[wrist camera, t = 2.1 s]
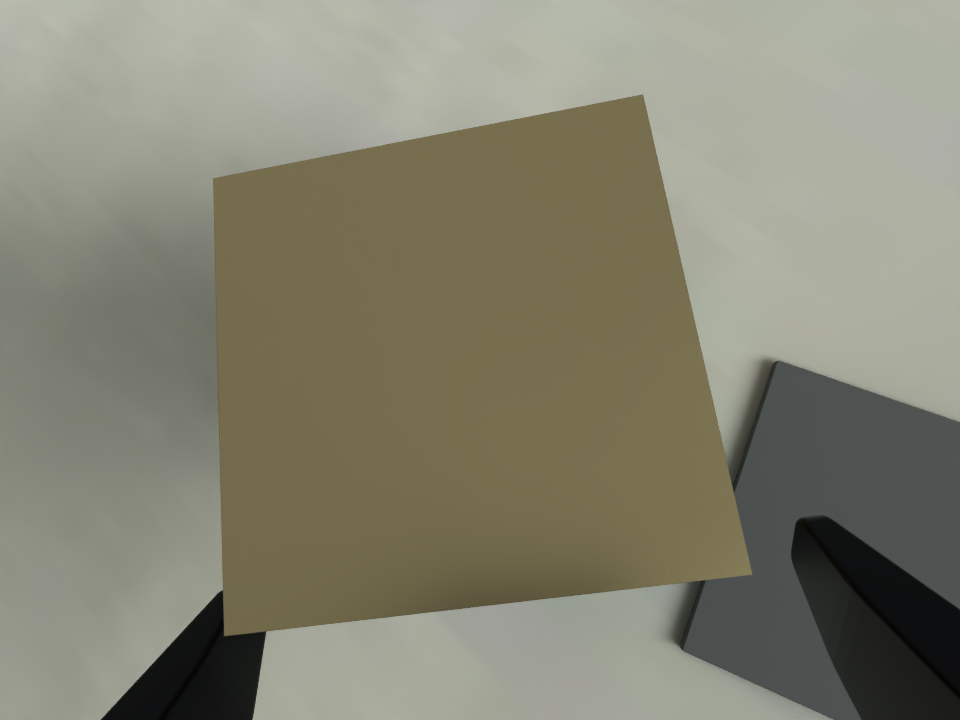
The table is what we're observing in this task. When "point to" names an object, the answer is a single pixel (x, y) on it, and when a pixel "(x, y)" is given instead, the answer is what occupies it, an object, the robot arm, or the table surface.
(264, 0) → the table surface
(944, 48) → the table surface
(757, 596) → the rubber pad
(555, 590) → the tan rectangular block
